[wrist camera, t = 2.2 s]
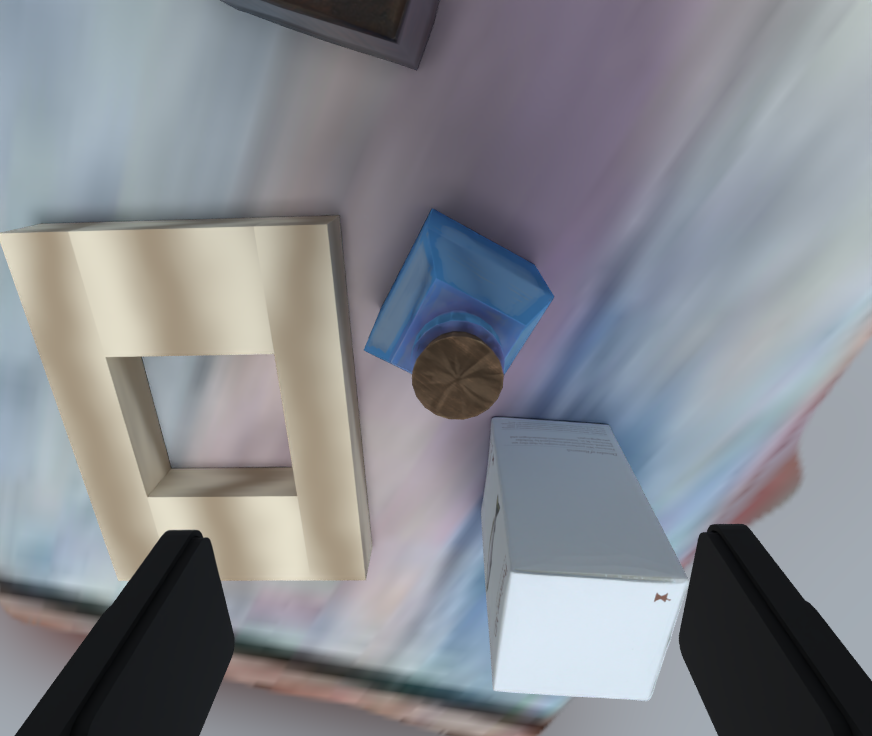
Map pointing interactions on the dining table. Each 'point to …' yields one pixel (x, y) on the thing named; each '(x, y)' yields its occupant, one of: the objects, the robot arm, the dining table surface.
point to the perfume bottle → (458, 317)
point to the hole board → (204, 335)
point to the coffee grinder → (356, 23)
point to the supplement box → (573, 565)
